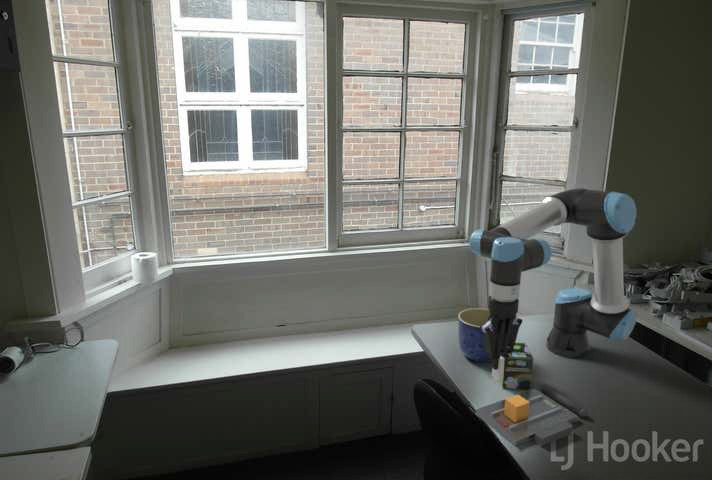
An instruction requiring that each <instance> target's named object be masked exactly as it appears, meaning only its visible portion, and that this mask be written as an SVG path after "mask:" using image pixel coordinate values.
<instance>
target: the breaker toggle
mask: <svg viewBox="0 0 712 480" xmlns="http://www.w3.org/2000/svg"><path fill="white" fill-rule="evenodd" d="M529 405H530V402H528V401H527V400H526V399H524V398H523V397H521V396H520V395H519V394H516V395H514V396H510V397H507V398H505V408H504V415H506V416H507V417H508V418H510V419H511V420H512V421H514V422H515V423H516V422H519V421H521V420H524V419H526V418H528V416H529Z"/></svg>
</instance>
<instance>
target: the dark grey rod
mask: <svg viewBox="0 0 712 480" xmlns="http://www.w3.org/2000/svg"><path fill="white" fill-rule="evenodd" d="M541 393H543V394H544V395H546V396H547V397H549V398H550V399H552V400H554V401H555V402H557V403H558V404H560V405H561V406H563V407H565V408H566V409H568V410H569V411H571V412H572V413H574V414H576V415H577V416H578V417H581V418H585V417H586V416H587V413H588V412H587V410H586V409H585V408H583V407H582V406H580V405H578V403H576V402H574V401H572V400H570V399H569V398H567V397H565V396H563V395H562V394H561V393H558V392H557V391H556V390H554V389H553V388H551V387H549V386H547V385H543V386H542V388H541Z"/></svg>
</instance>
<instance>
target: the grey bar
mask: <svg viewBox="0 0 712 480" xmlns="http://www.w3.org/2000/svg"><path fill="white" fill-rule="evenodd" d="M573 430H574V425H573V424H572V423H571V424H570V423H568V422H567V421H565V422H563V423H560V424H558V425H555V426H553V427H550V428H548V429H546V430H543V431H541V432H538V433H536V434H535V439H533V440H534V443H536V445H539V447H544V446H546V445H549V444H552V443H553V442H555V441H558V440H560V439H562V438H565V437H567V436H569V435H572V434H573Z"/></svg>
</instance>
